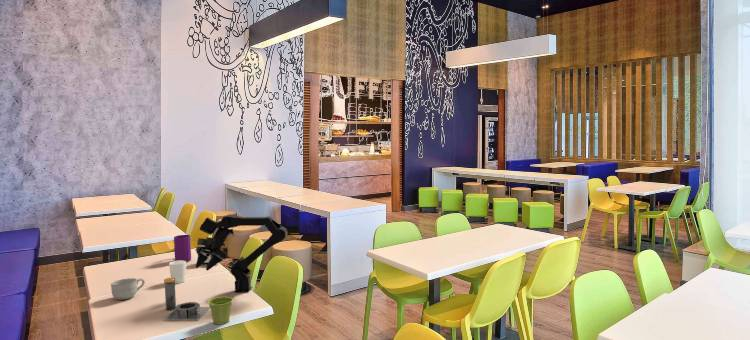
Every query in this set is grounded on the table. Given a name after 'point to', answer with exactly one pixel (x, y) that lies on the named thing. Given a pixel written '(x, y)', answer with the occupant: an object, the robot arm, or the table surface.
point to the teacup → (125, 288)
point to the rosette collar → (187, 312)
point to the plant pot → (220, 309)
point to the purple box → (182, 248)
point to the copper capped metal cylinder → (170, 294)
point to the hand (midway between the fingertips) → (201, 269)
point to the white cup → (178, 271)
